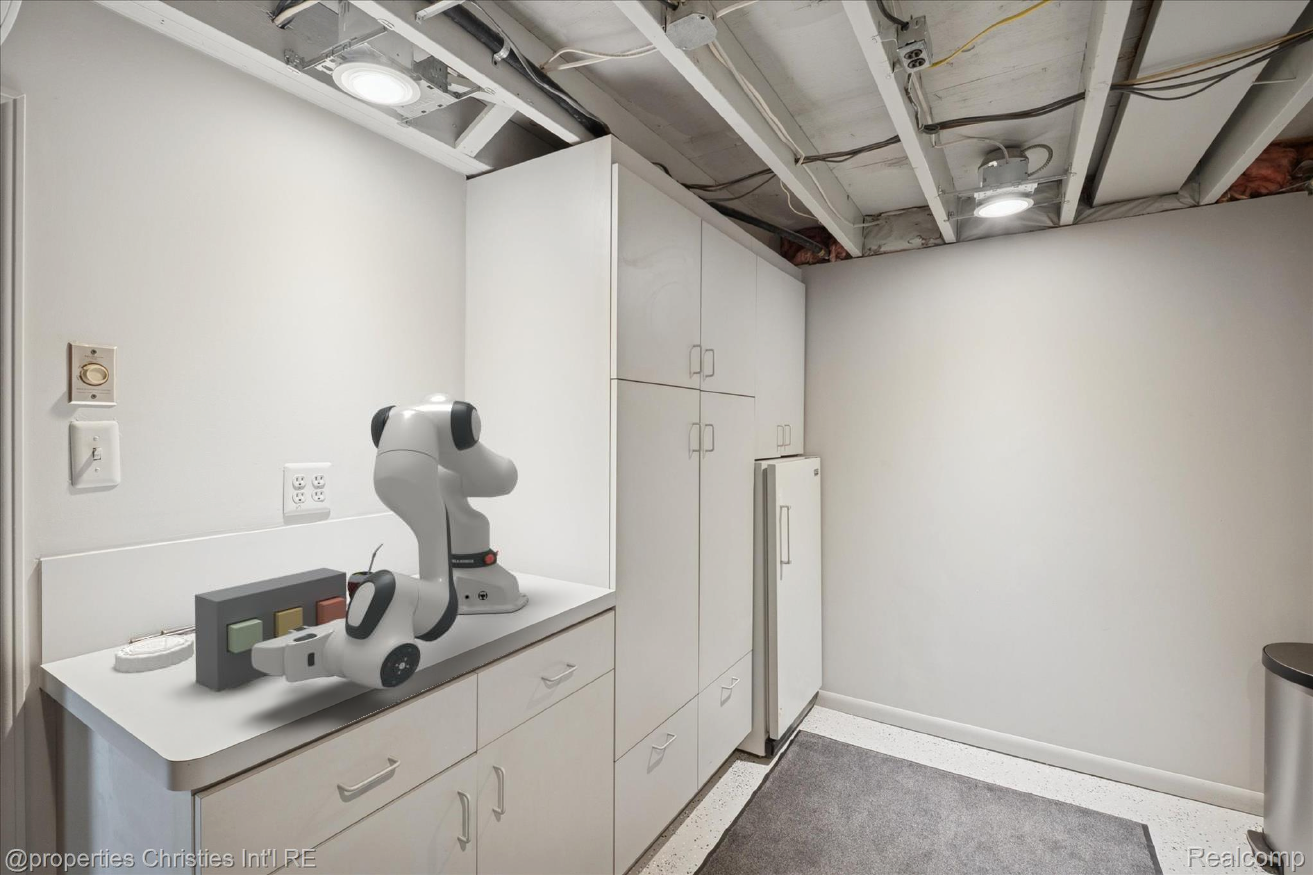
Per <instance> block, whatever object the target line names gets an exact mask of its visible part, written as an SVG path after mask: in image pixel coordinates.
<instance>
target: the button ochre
mask: <svg viewBox="0 0 1313 875" xmlns="http://www.w3.org/2000/svg"><path fill="white" fill-rule="evenodd" d="M302 626H303V616H302V608H299V607H293V608H289V609H285V610H281V611H278V612H274V636H276V637H281V636H285V635H288V631H289V630H292V629H296V628H299V627H302Z"/></svg>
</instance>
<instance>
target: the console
mask: <svg viewBox="0 0 1313 875" xmlns="http://www.w3.org/2000/svg"><path fill="white" fill-rule="evenodd" d="M335 597H339V598H343V599H346V612H347V608H348V605H347V604H348V602H347V600H348V599H347V572H346V571H341V570H337V569H332V568H327V567H321V568H316V569H311V570H306V571H302V572H298V573H292V574H286V575H282V576H278V577H277V576H276V577H272V578H268V579H264V580H259V581H254V582H250V583H245V584H240V585H235V586H230V587H225V588H222V589H217V590H210V591H207V592H201V593H196V594H194V626H195V627H194V628H195V630H194V631H195V635H194V636H195V637H194V638H195V640H194V641H195V643H194V644H195V645H194V646H195V682H196V683H198V684H200V685H202V686H204V687H206V688H209V689H211V690H212V691H215V692H217V693H218V692H221V691H224V690H227V689H230V688H233V687H236V686H240V685H241V684H245V683H248V682H251V681H253V680H257V679H259V678H262V677H265V676H269V675H270V674H267V673H264V672H262V671H259V670H257V669H255V668H254V667H253V665H252V657H251V655H252V648H251V649H248V650H244V651H241V652H238V653H235V652H232V651H229V650H227V625H230V624H234V623H238V622H242V621H246V620H250V619H253V618H254V619H257V620H260V621H262V637H263V642H264V641H267V640H271V639H274V638H278V637H276V636H274V612H278V611H281V610H285V609H289V608H293V607H299V608H302V616H303V626H307V627H315V626H319V625H318V624H316V602H319V601H323V600H327V599H331V598H335Z"/></svg>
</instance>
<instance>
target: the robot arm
mask: <svg viewBox="0 0 1313 875" xmlns="http://www.w3.org/2000/svg"><path fill="white" fill-rule="evenodd" d="M481 431H482V420H481V417H480V414H479V413H478V409H477V408H476V406H474V405H473V404H471V403H470V402H467V401H461V400H456V399H455V397H453V396H452V395H450V394H447V393H444V392H435V393H431V394H429V395H427V396H425V397H424V398H422V400H420V402H415V403H414V402H413V403H408V404H402V405H388V406H385V407H382V408H380V409H378V411H377V412H376V413H375V414H374V415H373V417H372V418H371V422H370V436H371V440H372V442H373V445H374V447H375V448H376V449H377V450H376V457H375V463H374V468H373V480H372V481H373V487H374V488H373V489H374V491H375V494H376V496H377V497H378V499H379V500H380V502H382V504H383V505H384V506H385V507H386V508H387V509H389V510H390V511H391V512H392V513H394V514H395V515H396V516H397V517H398V518H400V519H401V520H402V521H403V522H404V523H405V524H406V525H407V526H408V527H409V528H410V530H411V531H412V532H413V534H414V536H415V538H416V541H417V547H418V549H417V550H418V576H419V577H418V578H417V577H413V576H411V575H408V574H405V573H400V572H397V571H394V570H393V571H392V570H389V569H384V568H383V569H379V570H377V571H374V572H373V573H372V574H371V575H369V576H368V577H366V578H365V579H364V580H363V581H362V582H361V583H360V584H359V585H358V587H357V588H356V589H355V591H354V592H353V594H352V596H351V599H350V598H349V602H348V603H347V604H348V605H347V612H346V618H343V619H337V620H334V621H331V622H329V623H326V624H323V625H319V626H315V627H307V626H302V627H299V628H296V629H292V630H289V631H288V635H285V636H281V637H278V638H274V639H271V640H267V641H264V642H260V643H257V644H255V645H254V646H253V648H252V655H251V657H252V665H253V667H254V668H255V669H257V670H259V671H262V672H264V673H267V674H269V675H271V676H275V677H285V681H286V682H287V683H291V684H292V683H299V682H303V681H309V680H313V679H318V678H320V679H321V678H334V677H338V678H342V679H348V680H349V681H350V682H352V683H355V684H357V685H360V686H364V687H367V688H373V689H379V690H388V689H393V688H396V687H399V686H401V685H403V684H405V682H407V681H409V679H410V678H412V676H413V675H414V674H415V672H416V671H417V669H418V668H419V665H420V662H421V659H422V658H421V656H422V655H421V654H422V653H421V649H420V647H419V644H418V643H417V641H416V640H420V641H423V642H428V643H429V642H433V641H437V640H438V639H440V638H441V637H443V636H444V635H445V634H447V633H448V632H449V630H450V629H451V628H452V627H453V625H454V624H455V622H456V620H457V617H458V615H469V614H470V615H472V614H497V613H498V614H499V613H513V612H516V611H518V610H520V609H522V608H524V606H525V605H526V604H528V601H529V596H528V594H526V593H525V592H524V593H523V592H521V591H520V585H519V584H520V583H519V580H518V578H517V577H516V575H514V574H513V573H511V572H510V571H509V570H508V569H506V568H505V567H503V566H502V565H500V564H499V563H498V562H497V561H498V556H499V550H496V551H494V549H492V548H491V546H490V543H491V542H490V541H491V540H490V535H491V534H490V533H491V532H490V529H491V527H490V521H489V518H488V517H487V516H486V515H485V514H484V513H482V512H481V511H479V510H477V509H474V508H473V507H472V506H471V504H470V503H469V500H468V498H496V497H497V498H498V497H501V496H507V495H510V494H511V493H512V492H513V491H514V489H515V488H516V485H517V482H518V479H519V474H518V469H517V466H516V465H515V463H514V461H513V460H511V458H509V457H504V456H503V455H500V454H498V453H495V452H494V451H492V450H491V449H489V448H488V447H486V446H485V445H484V444H483V443H481V441H479V440H480V436H481Z"/></svg>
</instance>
